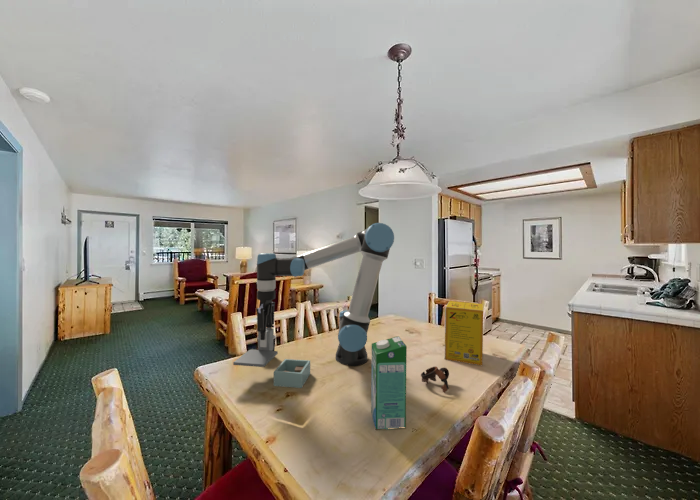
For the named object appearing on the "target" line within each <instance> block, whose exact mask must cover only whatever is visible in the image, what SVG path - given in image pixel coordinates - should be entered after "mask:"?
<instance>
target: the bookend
mask: <svg viewBox="0 0 700 500" xmlns="http://www.w3.org/2000/svg"><path fill="white" fill-rule="evenodd" d="M266 331H267V347H260V332H258V331H257V333H258V334H257V337H258V341H257V349H249V350H247V351H246V352H245V353H243V354H242V355H241V356H239V357H237V359H236V360H234V361H233V362H232V363H233V366H243V367H245V366H246V367H256V368H257V367H258V368H265V366H267V365H268V364H269V363H270V362H271V361H272V360H273V359H274V358H275V357H276V356H277V355H278V350H274V351H272V350H273V335H275V334H274V332H275V331H274V328H272V329H270V328H267V327H266Z"/></svg>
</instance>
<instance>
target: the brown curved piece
mask: <svg viewBox="0 0 700 500" xmlns="http://www.w3.org/2000/svg"><path fill="white" fill-rule="evenodd" d="M425 371H426V372H425ZM425 371H423V372H421V374H420V377H421V382H423V383H426V384H427V385H428V384H429V380H430V381H433V382H436V381H437V379H436V378H437V377H438V379H440V381H441V382H442V383H443V385H441V389H442V393H443V392H444V393H446V392H447V391H448V390H449V389H450V386H449V384H448V379H449V377H450V372H449V370H448V368H447V367H441V368H440V369H439V368H438V367H437V366H432V367H429V368H427V369H425Z"/></svg>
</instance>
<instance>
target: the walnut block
mask: <svg viewBox="0 0 700 500" xmlns="http://www.w3.org/2000/svg"><path fill="white" fill-rule="evenodd" d="M303 368H304V366H296V368H295V372H299V373H300V372H301V371H302V369H303Z"/></svg>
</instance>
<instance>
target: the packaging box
mask: <svg viewBox="0 0 700 500" xmlns="http://www.w3.org/2000/svg"><path fill="white" fill-rule="evenodd" d="M444 313H445V315H444V360H446V361H452V362H458V363H464V364H469V363H470V365H475V364H477V366H481V365H482V366H483V354H484V353H483V351H484V350H483V349H484V348H483V347H484V346H483V345H484V344H483V342H484V340H483V339H484V303H474V302H466V301H465V302H464V301H456V300H455V301H454V300H449V301H448V303H447V304H446V306H445V311H444Z"/></svg>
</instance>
